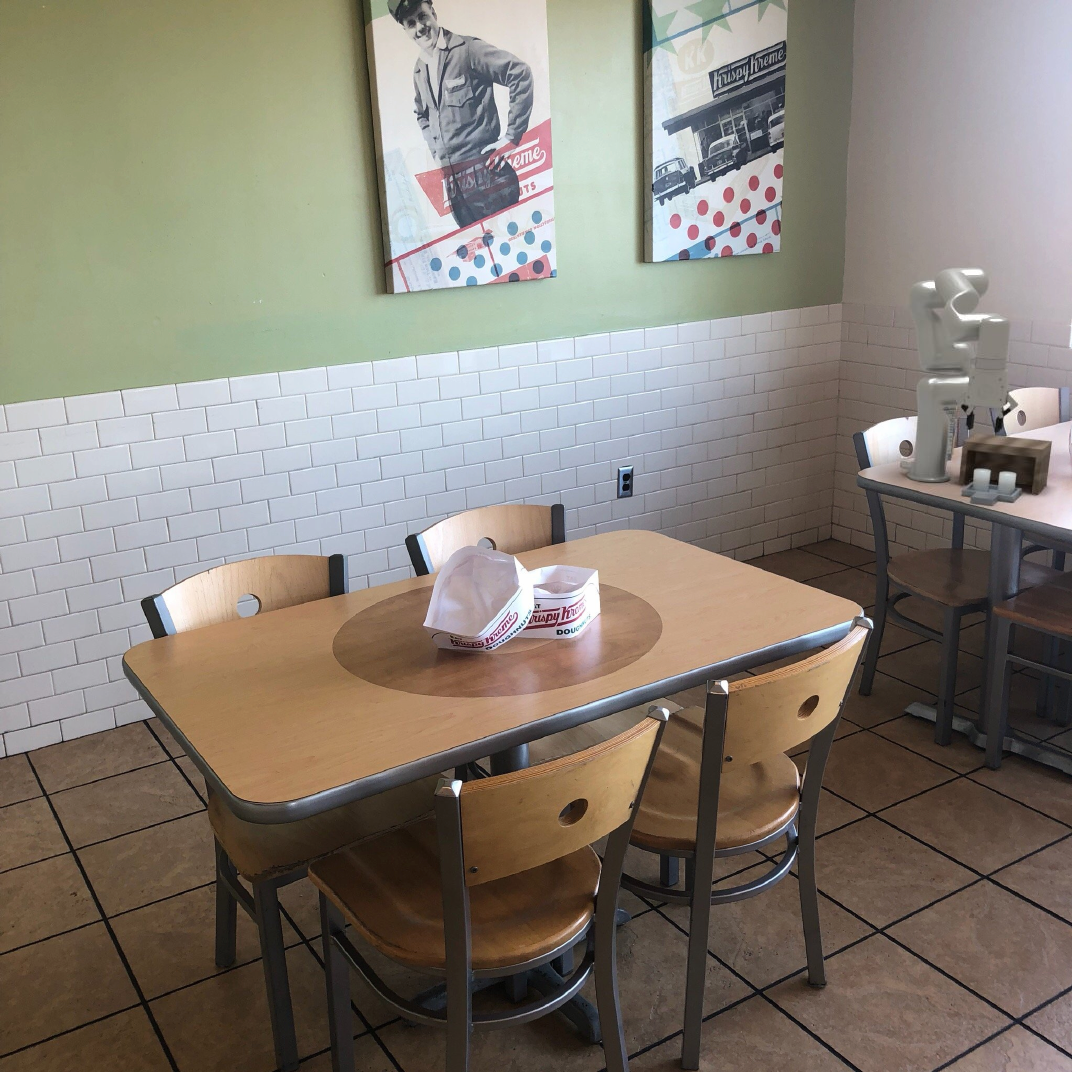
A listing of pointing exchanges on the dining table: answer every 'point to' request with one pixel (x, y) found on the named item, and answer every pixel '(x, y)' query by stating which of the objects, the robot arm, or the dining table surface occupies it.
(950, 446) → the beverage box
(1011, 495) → the glasses tray
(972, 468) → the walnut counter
